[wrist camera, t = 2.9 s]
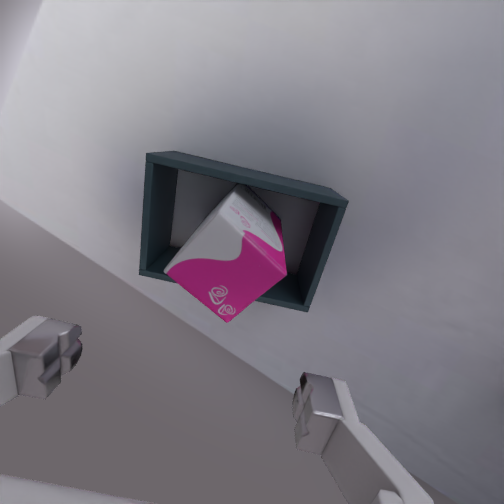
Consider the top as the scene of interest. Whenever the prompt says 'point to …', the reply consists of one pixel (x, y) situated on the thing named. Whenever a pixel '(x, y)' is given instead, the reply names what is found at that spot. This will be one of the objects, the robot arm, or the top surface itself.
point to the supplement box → (232, 254)
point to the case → (165, 178)
